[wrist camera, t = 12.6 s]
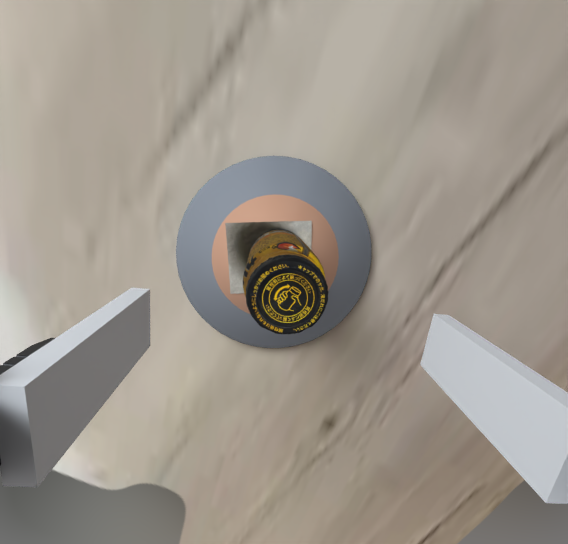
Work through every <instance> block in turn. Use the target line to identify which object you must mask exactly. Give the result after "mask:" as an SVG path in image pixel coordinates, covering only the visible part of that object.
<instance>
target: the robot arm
mask: <svg viewBox="0 0 568 544" xmlns="http://www.w3.org/2000/svg"><path fill="white" fill-rule="evenodd" d="M149 346H150V289H142V288H131V289H129V290H128V291H126V292H124V293H123V294H121V295H120V296H118V297H117V298H115V299H114V300H112V301H111V302H109V303H108V304H106V305H105V306H103V307H102V308H100V309H99V310H97V311H96V312H94V313H93V314H91V315H90V316H88V317H87V318H85V319H84V320H82V321H81V322H79V323H78V324H76V325H75V326H73V327H72V328H70V329H69V330H67V331H66V332H64V333H63V334H61V335H60V336H58V337H57V338H50V339H47V340H44V341H42V342H39V343H37V344H34V345H32V346H30V347H28V348H27V349H25V350H24V351H22V352H21V353H19V354H17V356H16V357H13V358H11V359H9V360H8V361H6V362H5V363H3V365H0V471H1V477H2V483H3V486H18V487H20V486H21V487H38V486H39V485H40V484H41V482H42V481H43V480H44V479H45V477H46V476H47V475H48V474H49V472H50V471H51V470H52V468H53V467H54V466H55V465H56V463H57V462H58V461H59V460H60V458H61V457H62V456H63V455H64V453H65V452H66V451H67V450H68V448H69V447H70V446H71V445H72V443H73V442H74V441H75V440H76V438H77V437H78V436H79V435H80V433H81V432H82V431H83V429H84V428H85V427H86V426H87V424H88V423H89V422H90V421H91V419H92V418H93V417H94V416H95V414H96V413H97V412H98V411H99V409H100V408H101V407H102V406H103V404H104V403H105V402H106V401H107V399H108V398H109V397H110V396H111V394H112V393H113V392H114V391H115V389H116V388H117V387H118V385H119V384H120V383H121V382H122V380H123V379H124V378H125V377H126V375H127V374H128V373H129V372H130V370H131V369H132V368H133V367H134V365H135V364H136V363H137V362H138V360H139V359H140V358H141V357H142V355H143V354H144V353H145V352H146V350H147V349H148V348H149ZM420 365H421V366H422V367H423V368H424V369H425V371H426V372H427V373H428V374H429V375H430V376H431V377H432V378H433V379H434V381H435V382H436V383H437V384H438V385H439V386H440V387H441V388H442V389H443V390H444V392H445V393H446V394H447V395H448V396H449V397H450V398H451V399H452V400H453V401H454V403H455V404H456V405H457V406H458V407H459V408H460V409H461V410H462V411H463V412H464V414H465V415H466V416H467V417H468V418H469V419H470V420H471V421H472V422H473V423H474V425H475V426H476V427H477V428H478V429H479V430H480V431H481V432H482V433H483V434H484V436H485V437H486V438H487V439H488V440H489V441H490V442H491V443H492V444H493V445H494V447H495V448H496V449H497V450H498V451H499V452H500V453H501V454H502V455H503V456H504V458H505V459H506V460H507V461H508V462H509V463H510V464H511V465H512V466H513V467H514V469H515V470H516V471H517V472H518V473H519V474H520V475H521V476H522V477H523V478H524V480H525V481H526V482H527V483H528V484H529V485H530V486H531V487H532V488H533V489H534V491H535V492H536V493H537V494H538V495H539V496H540V497H541V498H542V499H543V500H544V501H545V502H546V503H561V504H568V393H567V392H566V391H564V390H563V389H561V388H560V387H558V386H557V385H555V384H554V383H552V382H551V381H549V380H547V379H546V378H544V377H543V376H541V375H540V374H538V373H537V372H535V371H534V370H532V369H531V368H529V367H527V366H526V365H524V364H523V363H521V362H520V361H518V360H517V359H515V358H514V357H512V356H511V355H509V354H508V353H506V352H504V351H503V350H501V349H500V348H498V347H497V346H495V345H494V344H492V343H491V342H489V341H488V340H486V339H485V338H483V337H481V336H480V335H478V334H477V333H475V332H474V331H472V330H471V329H469V328H468V327H466V326H465V325H463V324H462V323H460V322H458V321H457V320H455V319H454V318H452V317H451V316H449V315H440V314H434V315H433V318H432V322H431V326H430V330H429V334H428V337H427V341H426V345H425V349H424V353H423V357H422V360H421V364H420Z"/></svg>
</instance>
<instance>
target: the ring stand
mask: <svg viewBox="0 0 568 544" xmlns="http://www.w3.org/2000/svg"><path fill="white" fill-rule="evenodd" d="M278 221H312V241H311V250H312V251H313V253H314V254H315V255H316V256H317V258H318V259H319V261H320V263H321V265H322V267H323V269H324V273H325V280H326V283H327V286H328V302H327V305H326V308H325V310H324V312H323V314H322V316H321V317H320V319H319V320H318V321H317V323H316V324H314V325H313V326H312V327H309V328H307V329H305V330H304V331H302V332H300V333H296V334H276V333H274V332H271V331H269V330H267V329H265V328H262V327H260V326H259V325H258V323H257V322H256V321H255V320H254V319H253V317H252V316H251V314H250V312H249V310H248V307H247V304H246V297H245V294H244V293H240V294H230V279H229V264H228V250H227V238H226V226H225V223H242V222H278ZM176 258H177V267H178V273H179V277H180V280H181V283H182V286H183V289H184V291H185V293H186V295H187V297H188V299H189V301H190V302H191V304H192V305H193V307H194V308H195V310H196V311H197V312H198V313H199V314H200V316H201V317H202V318H203V319H204V320H205V321H206V322H207V323H209V324H210V325H211V326H212V327H213V328H215V329H216V330H217V331H219V332H220V333H222V334H224V335H226V336H227V337H229V338H231V339H233V340H236V341H238V342H241V343H244V344H248V345H252V346H256V347H264V348H282V347H291V346H295V345H299V344H303V343H306V342H308V341H311V340H314V339H316V338H318V337H320V336H322V335H323V334H325V333H326V332H328V331H329V330H331V329H332V328H334V327H335V326H336V325H337V324H338V323H340V322H341V321H342V320H343V319H344V318H345V317H346V316H347V315H348V313H349V312H350V311H351V310H352V308H353V307H354V306H355V304H356V303H357V301H358V299H359V297H360V296H361V294H362V292H363V289H364V287H365V284H366V282H367V278H368V274H369V271H370V264H371V239H370V232H369V229H368V225H367V221H366V219H365V216H364V214H363V212H362V209H361V207H360V206H359V204H358V202H357V201H356V199H355V197H354V196H353V195H352V194H351V192H350V191H349V190H348V189H347V187H346V186H344V185H343V184H342V183H341V182H340V181H339V180H338V179H337V178H336V177H334V176H333V175H332V174H330V173H329V172H327V171H326V170H324V169H322V168H320V167H318V166H316V165H314V164H312V163H309V162H306V161H304V160H301V159H296V158H291V157H283V156H266V157H257V158H253V159H248V160H245V161H242V162H239V163H237V164H234V165H232V166H230V167H228V168H226V169H225V170H223V171H221V172H219V173H218V174H217V175H215V176H214V177H213V178H211V179H210V180H209V181H208V182H207V183H206V184H205V185H204V186H203V187H202V188H201V189H200V190H199V191H198V193H197V194H196V195H195V197H194V198H193V199H192V201H191V202H190V204H189V206H188V208H187V210H186V211H185V214H184V216H183V219H182V221H181V224H180V228H179V232H178V237H177V246H176Z"/></svg>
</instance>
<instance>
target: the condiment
mask: <svg viewBox="0 0 568 544" xmlns="http://www.w3.org/2000/svg"><path fill="white" fill-rule="evenodd" d="M225 226H226V238H227V250H228V264H229V279H230V294H240V293H244V294H245V297H246V304H247V307H248V310H249V312H250V314H251V316H252V317H253V319H254V320H255V321H256V322H257V323H258V325H259V326H260V327H262V328H265V329H267V330H269V331H271V332H274V333H276V334H296V333H300V332H302V331H304V330H305V329H307V328H309V327H312V326H313V325H314V324H316V323H317V321H318V320H319V319H320V317H321V316H322V314H323V312H324V310H325V308H326V305H327V302H328V286H327V283H326V280H325V273H324V269H323V267H322V265H321V263H320V261H319V259H318V258H317V256H316V255H315V254H314V253H313V251H312V250H311V241H312V221H278V222H242V223H225Z"/></svg>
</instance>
